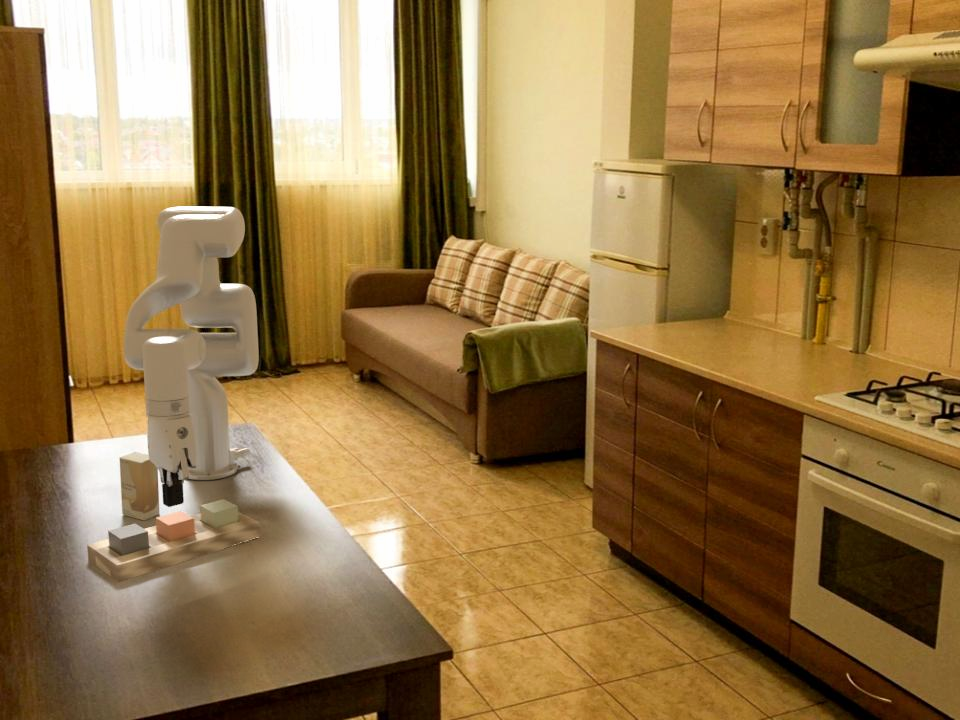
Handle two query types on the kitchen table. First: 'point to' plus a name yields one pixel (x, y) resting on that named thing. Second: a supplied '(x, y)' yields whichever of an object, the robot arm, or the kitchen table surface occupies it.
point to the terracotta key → (175, 526)
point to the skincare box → (139, 486)
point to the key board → (171, 548)
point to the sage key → (219, 513)
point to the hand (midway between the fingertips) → (173, 504)
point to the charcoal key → (128, 539)
